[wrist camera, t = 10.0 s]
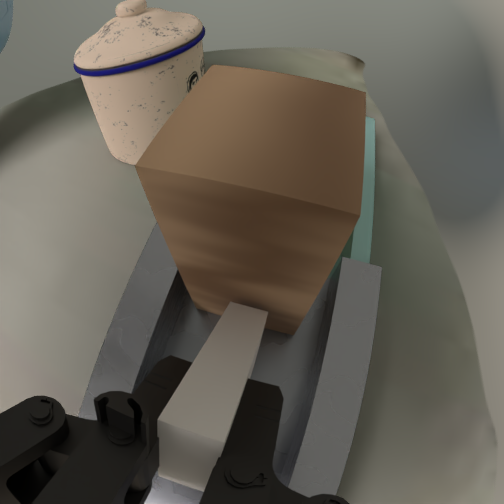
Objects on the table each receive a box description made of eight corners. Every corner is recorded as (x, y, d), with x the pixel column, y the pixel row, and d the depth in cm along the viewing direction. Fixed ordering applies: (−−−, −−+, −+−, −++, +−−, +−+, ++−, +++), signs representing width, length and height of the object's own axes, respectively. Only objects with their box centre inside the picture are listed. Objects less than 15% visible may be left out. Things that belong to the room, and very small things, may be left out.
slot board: (80, 492, 11) (47, 504, 8) (167, 244, 18) (153, 210, 15) (294, 562, 9) (305, 591, 6) (367, 296, 17) (391, 269, 14)
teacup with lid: (214, 162, 21) (199, 5, 11) (96, 178, 21) (37, 46, 11) (211, 80, 27) (204, -26, 17) (123, 93, 27) (98, -6, 16)
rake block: (196, 308, 15) (134, 165, 7) (226, 227, 18) (212, 64, 9) (293, 335, 15) (360, 215, 6) (313, 248, 17) (365, 92, 8)
